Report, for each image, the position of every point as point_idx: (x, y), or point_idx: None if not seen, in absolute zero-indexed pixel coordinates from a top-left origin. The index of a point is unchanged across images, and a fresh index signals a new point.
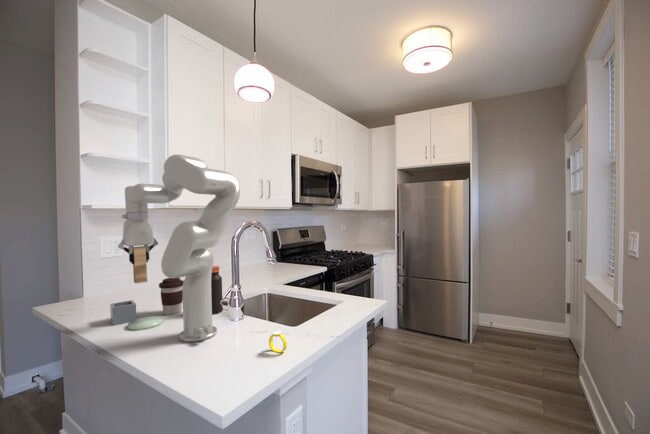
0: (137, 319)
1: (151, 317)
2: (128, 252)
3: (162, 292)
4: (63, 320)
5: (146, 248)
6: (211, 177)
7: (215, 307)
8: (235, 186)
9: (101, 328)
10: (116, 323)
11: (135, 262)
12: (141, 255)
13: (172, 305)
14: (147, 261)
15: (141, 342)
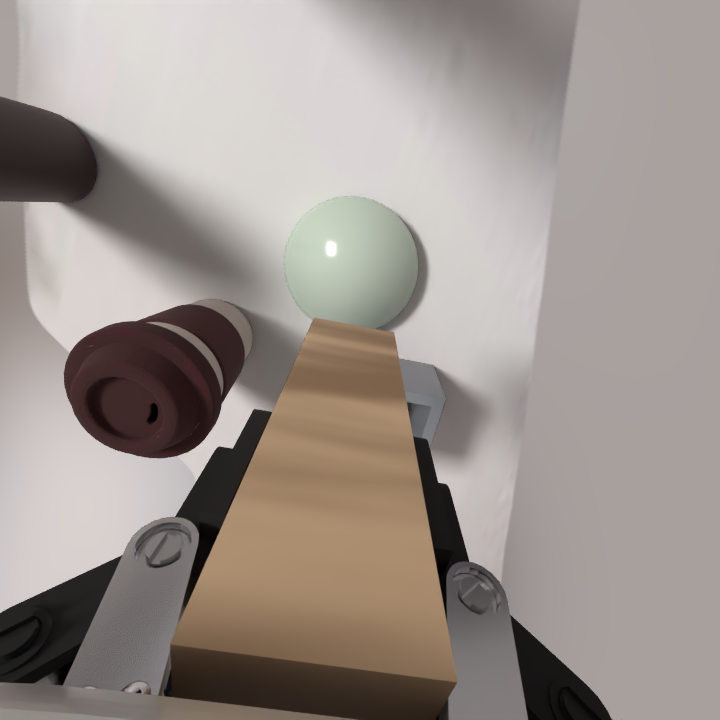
0: None
1: (314, 305)
2: (500, 615)
3: (221, 371)
4: (496, 545)
5: (169, 603)
6: None
7: (31, 106)
8: None
9: (468, 369)
10: (422, 365)
11: (401, 430)
12: (315, 481)
13: (211, 309)
14: (257, 412)
15: (459, 22)
